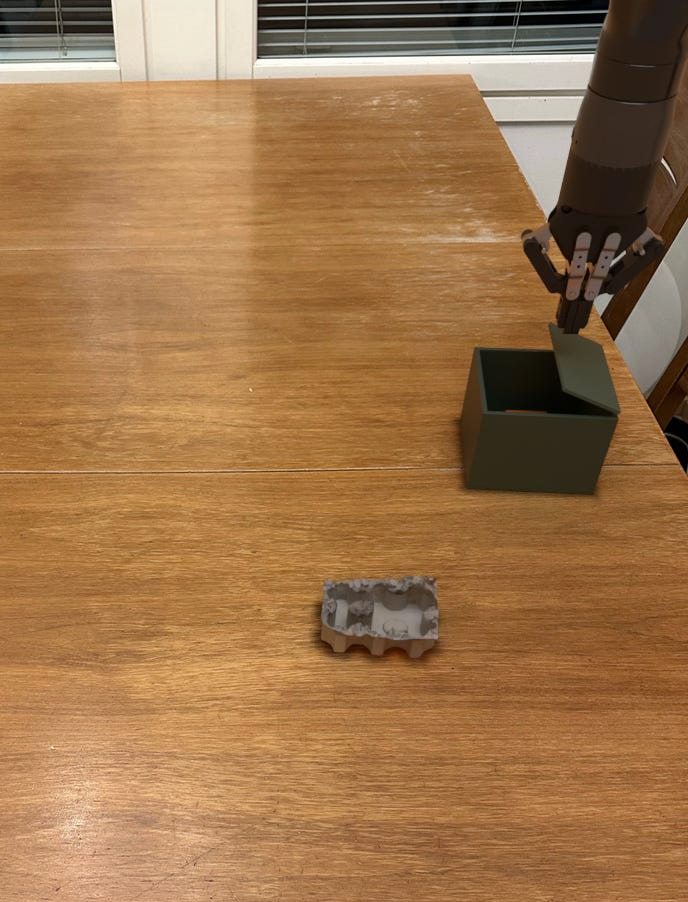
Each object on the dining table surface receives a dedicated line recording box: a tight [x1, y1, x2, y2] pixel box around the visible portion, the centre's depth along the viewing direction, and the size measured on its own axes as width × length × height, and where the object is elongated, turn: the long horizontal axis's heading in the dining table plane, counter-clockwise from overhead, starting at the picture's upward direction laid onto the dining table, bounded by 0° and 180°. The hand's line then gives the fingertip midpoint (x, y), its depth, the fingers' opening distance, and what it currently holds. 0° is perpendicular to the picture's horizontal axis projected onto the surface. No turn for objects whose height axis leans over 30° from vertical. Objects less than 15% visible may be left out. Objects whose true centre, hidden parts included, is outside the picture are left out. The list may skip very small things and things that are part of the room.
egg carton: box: [320, 575, 440, 659], centre depth 89 cm, size 11×8×4 cm
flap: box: [547, 321, 622, 416], centre depth 98 cm, size 6×12×1 cm, turn 174°
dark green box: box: [459, 346, 620, 495], centre depth 103 cm, size 13×12×10 cm
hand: (569, 329), depth 95 cm, fingers closed
